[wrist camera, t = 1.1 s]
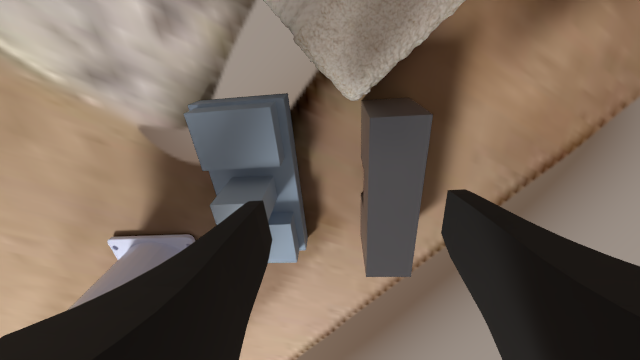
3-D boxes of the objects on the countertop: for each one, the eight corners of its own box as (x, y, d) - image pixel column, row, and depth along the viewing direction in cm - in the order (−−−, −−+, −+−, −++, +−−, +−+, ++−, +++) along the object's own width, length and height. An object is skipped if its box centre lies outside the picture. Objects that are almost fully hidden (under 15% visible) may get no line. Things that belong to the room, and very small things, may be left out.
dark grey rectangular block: (396, 233, 21) (410, 276, 17) (360, 234, 22) (366, 276, 18) (409, 97, 16) (433, 114, 12) (361, 100, 16) (369, 117, 12)
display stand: (307, 237, 22) (300, 286, 18) (240, 239, 23) (217, 287, 18) (287, 93, 16) (270, 111, 12) (199, 100, 17) (151, 119, 13)
